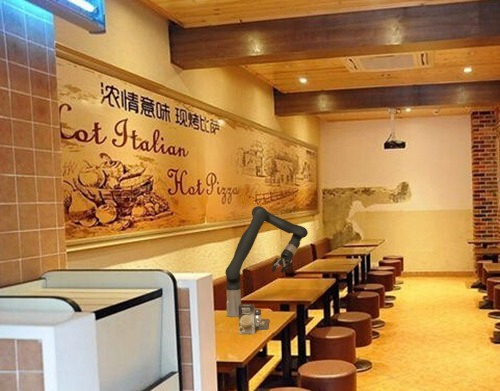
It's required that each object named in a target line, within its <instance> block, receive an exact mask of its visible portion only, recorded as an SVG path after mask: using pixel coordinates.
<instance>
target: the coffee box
mask: <svg viewBox="0 0 500 391" xmlns="http://www.w3.org/2000/svg"><path fill="white" fill-rule="evenodd" d="M255 305H256V304H254V303H251V304H250V303H244V304H243V303H241V304H239V306H238V310H239V316H238V334H239V335H255V333H256V330H255V309H256V308H255V307H256V306H255Z"/></svg>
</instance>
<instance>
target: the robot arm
mask: <svg viewBox="0 0 500 391" xmlns="http://www.w3.org/2000/svg"><path fill="white" fill-rule="evenodd" d="M251 216H252V219H251V222H250V224H249V225H248V227H247V228H246V230H245V231H244V232H243V234H242V235H241V236H240V239H239V241H238V243H237V246H236V248H235V251H234V255H233V257H232V259H231V261H230V263H229V264H228V266H227V267H226V269H225V277H226V286H225V287H226V316H227V317H231V318H236V317H239V310H238V306H239V304H242V293H241V270H242V267H243V264H244V261H245V260H246V258H247V257H248V256H249V254H250V253H251V250H252V248H253V246H254V244H255V242H256V240H257V238H258V234H259V232H260V230H261V228H262V226H263V224H264V223H268V224H270V225H272V226H274V227H275V228H277V229H279V230H281V231H282V232H285V233H286V234H292V235H291V237H290V240H289V242H288V243H287V244H286V246H285V247H284V249H283V250H282V252H281V254H280V257H279V258H278V257H276V258H274V260H273V262H272V264H271V265H272V267H271V272H272V273H275V271H276V270H277V268H278V267H281V266H283V267H282V268H281V269H280V271H279V272H280V273H281V274H284V273H285V271H286V270H287V269H290V268H291V266H292V264H293V262H294V260H292V259H293V258H294V256H295V254H296V252H297V250H298V248H299V247H300V245H301V241H302V239H304V238H305V237H307V236H308V234H309V232H308V230H307V228H306V227H305V226H302V225H298V224H296V223H292V222H290V221H288V220H286V219H283V218H281V217H279V216H277V215H275V214H272V213H271V212H270V211H268V210H267V209H266V208H265V207H264V206H261V205H257V206H255V207H253V208H252V210H251Z"/></svg>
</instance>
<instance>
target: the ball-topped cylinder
mask: <svg viewBox="0 0 500 391" xmlns="http://www.w3.org/2000/svg"><path fill="white" fill-rule="evenodd" d="M261 319H262V308H255V323H256V322H259V324H260V323H261Z"/></svg>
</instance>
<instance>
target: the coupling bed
mask: <svg viewBox="0 0 500 391" xmlns="http://www.w3.org/2000/svg"><path fill="white" fill-rule="evenodd" d="M269 326H270V318H261V323H260V324H259V322H256V323H255V331H256V330H257V331H262V330H263V331H265V330H266V331H267V330H269Z"/></svg>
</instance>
